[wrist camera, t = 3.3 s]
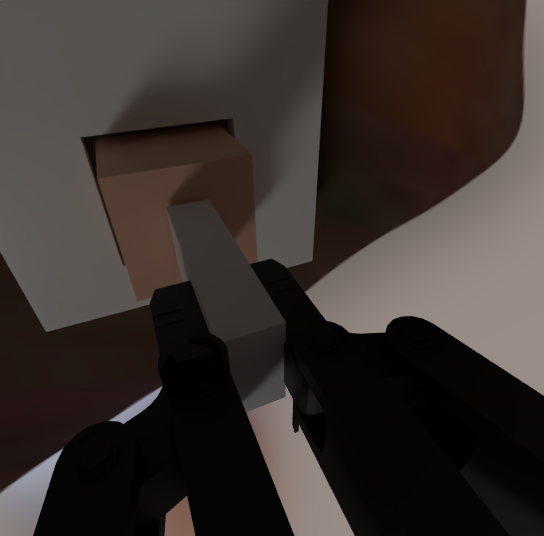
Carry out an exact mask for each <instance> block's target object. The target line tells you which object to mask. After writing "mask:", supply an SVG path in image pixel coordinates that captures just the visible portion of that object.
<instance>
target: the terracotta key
mask: <svg viewBox="0 0 544 536" xmlns="http://www.w3.org/2000/svg"><path fill="white" fill-rule="evenodd" d="M95 149H96V166H97V180H98V183H99V186H100V189H101V192H102V195H103V198H104V201H105V204H106V207H107V210H108V213H109V216H110V219H111V223H112V226H113V229H114V232H115V235H116V238H117V241H118V244H119V247H120V250H121V253H122V256H123V259H124V262H125V265H126V268H127V271H128V274H129V277H130V281H131V284H132V287H133V290H134V293H135V296H136V299H137V301H141V300H145V299H148V298H152V296H153V293H154V290H155V289H158V288H162V287H166V286H170V285H174V284H178V283H182V282H183V279H182V277H181V274H180V270H179V266H178V261H177V257H176V252H175V247H174V243H173V238H172V234H171V229H170V224H169V220H168V215H167V211H166V207H169V206H174V205H180V204H185V203H190V202H195V201H201V200H206V199H209V200H210V202H211V203H212V205H213V206H214V208H215V210H216V211H217V213H218V214H219V216H220V218H221V219H222V221H223V222H224V224H225V226H226V227H227V229H228V230H229V232H230V234H231V235H232V237H233V238H234V240H235V242H236V243H237V245H238V246H239V248H240V250H241V251H242V253H243V255H244V256H245V258H246V259H247V261H248V263H249V264H252V263H256V262H258V260H257V241H256V222H255V203H254V184H253V165H252V154H251V153H250V152H249V151H248V150H247V149H246V148H245V147H243V146H242V145H241V144H240V143H239V142H238V141H237V140H236V139H235V138H234V137H232V136H231V135H230V134H229V133H228V132H227V131H226V130H225V129H224V128H223V127H222V126H220V125H219V124H218V123H212V124H204V125H196V126H188V127H180V128H172V129H165V130H157V131H149V132H141V133H133V134H125V135H117V136H110V137H102V138H95Z"/></svg>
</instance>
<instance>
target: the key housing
mask: <svg viewBox="0 0 544 536" xmlns="http://www.w3.org/2000/svg"><path fill="white" fill-rule="evenodd" d="M327 10H328V0H0V252H1V254H2V255H3V257H4V259H5V261H6V262H7V264H8V266H9V268H10V269H11V271H12V273H13V275H14V276H15V278H16V280H17V282H18V283H19V285H20V287H21V289H22V290H23V292H24V294H25V296H26V297H27V299H28V301H29V303H30V304H31V306H32V308H33V310H34V311H35V313H36V315H37V317H38V318H39V320H40V322H41V324H42V325H43V327H44V329H45V331H46V332H48V331H51V330H55V329H59V328H63V327H66V326H70V325H74V324H78V323H81V322H85V321H89V320H93V319H96V318H100V317H104V316H108V315H111V314H115V313H119V312H122V311H126V310H130V309H134V308H137V307H141V306H145V305H149V304H150V301H151V298H148V299H145V300H141V301H137V299H136V296H135V293H134V290H133V287H132V284H131V281H130V277H129V274H128V271H127V268H126V265H125V262H124V259H123V256H122V253H121V250H120V247H119V244H118V241H117V238H116V235H115V232H114V229H113V226H112V223H111V219H110V216H109V213H108V210H107V207H106V204H105V201H104V198H103V195H102V192H101V189H100V186H99V183H98V180H97V166H96V149H95V138H102V137H110V136H117V135H125V134H133V133H141V132H149V131H157V130H165V129H172V128H180V127H188V126H196V125H204V124H212V123H218V124H219V125H220V126H222V127H223V128H224V129H225V130H226V131H227V132H228V133H229V134H230V135H231V136H232V137H234V138H235V139H236V140H237V141H238V142H239V143H240V144H241V145H242V146H243V147H245V148H246V149H247V150H248V151H249V152H250V153H251V154H252V165H253V184H254V203H255V222H256V241H257V260H258V262H260V261H264V260H268V259H274V260H275V261H277V262H279V263H281V264H282V265H284V266H285V267H286V268H287V267H291V266H295V265H299V264H302V263H306V262H310V261H312V257H313V241H314V225H315V208H316V192H317V175H318V159H319V142H320V126H321V109H322V93H323V76H324V60H325V43H326V27H327Z"/></svg>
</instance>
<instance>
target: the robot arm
mask: <svg viewBox="0 0 544 536" xmlns="http://www.w3.org/2000/svg"><path fill="white" fill-rule="evenodd" d="M166 211H167V215H168V220H169V224H170V229H171V234H172V238H173V243H174V247H175V252H176V257H177V261H178V266H179V270H180V274H181V277H182V279H183V282H182V283H178V284H174V285H170V286H166V287H162V288H158V289H155V290H154V293H153V296H152V298H151V301H150V307H151V312H152V317H153V322H154V327H155V332H156V336H157V341H158V346H159V351H160V357H159V362H158V371H159V374H160V377H161V380H162V383H163V386H162V389H161V391H160V393H159V395H158V396H157V398H156V399H155V400H154V401H153V402H152V404H151V405H149V406H148V407H147V408H146V409H145V410H143V411H142V412H141V413H139V414H138V415H136V416H135V417H133V418H132V419H130V420H129V421H127V422H126V423H125V424H122V423H120V422H118V421H104V422H101V423H97V424H94V425H91V426H89V427H87V428H86V429H84V430H83V431H81V432H80V433H78V434H77V435H75V436H74V437H73V439H72V440H71V441H70V442H69V443H68V444H67V445H66V446H65V447H64V449H63V451H62V453H61V454H60V457H59V459H58V461H57V462H56V465H55V468H54V471H53V474H52V478H51V481H50V484H49V487H48V490H47V493H46V497H45V500H44V503H43V506H42V509H41V512H40V516H39V519H38V522H37V525H36V528H35V531H34V534H33V536H164V533H165V518H166V513H167V512H169V511H170V510H171V509H172V508H173V507H174V506H176V505H177V504H178V503H179V502H180V501H181V500H182V499H184V498H185V497H186V496H187V497H188V502H189V506H190V512H191V516H192V521H193V526H194V531H195V536H294V534H293V531H292V528H291V526H290V523H289V521H288V518H287V516H286V513H285V511H284V508H283V506H282V503H281V500H280V498H279V496H278V493H277V490H276V488H275V485H274V482H273V480H272V477H271V475H270V472H269V470H268V467H267V465H266V462H265V459H264V457H263V454H262V452H261V449H260V447H259V444H258V442H257V439H256V436H255V434H254V431H253V429H252V426H251V424H250V421H249V419H248V416H247V413H246V412H247V411H250V410H253V409H255V408H258V407H260V406H263V405H266V404H268V403H271V402H273V401H276V400H279V399H281V398H283V397H285V385H286V387H287V388H288V391H289V392H290V394H291V396H292V398H293V424H292V425H293V429H294V432H295V433H296V432H298V431H299V425H300V427H301V429H302V431H303V433H304V435H305V437H306V439H307V441H308V443H309V445H310V447H311V449H312V451H313V453H314V455H315V457H316V459H317V461H318V463H319V465H320V467H321V469H322V471H323V473H324V475H325V477H326V479H327V481H328V483H329V485H330V487H331V489H332V491H333V493H334V495H335V497H336V499H337V501H338V503H339V505H340V507H341V509H342V511H343V513H344V515H345V517H346V519H347V521H348V523H349V525H350V527H351V529H352V531H353V533H354V535H355V536H544V396H543V395H542V394H540V393H539V392H537V391H536V390H534V389H533V388H531V387H530V386H528V385H526V384H525V383H523V382H522V381H520V380H519V379H517V378H516V377H514V376H512V375H511V374H510V373H508V372H507V371H505V370H503V369H502V368H500V367H499V366H497V365H496V364H494V363H493V362H491V361H489V360H488V359H487V358H485V357H483V356H482V355H480V354H479V353H477V352H476V351H474V350H473V349H471V348H469V347H468V346H467V345H465V344H463V343H462V342H460V341H459V340H457V339H456V338H454V337H453V336H451V335H450V334H448V333H447V332H445V331H444V330H442V329H440V328H439V327H438V326H436V325H434V324H433V323H431V322H429V321H427V320H424V319H422V318H418V317H413V316H403V317H399V318H396V319H394V320H392V321H391V322H390V323H389V325H387V328H386V332H385V333H366V334H356V333H349V332H348V331H347V330H346V329H344V328H343V327H342V326H340V325H338V324H336V323H333V322H330V321H326V320H325V319H324V317H323V316H322V315H321V314H320V312H319V311H318V309H317V308H316V307H315V305H314V304H313V303H312V301H311V300H310V299H309V297H308V296H307V295H306V293H305V292H304V291H303V289H302V288H301V287H299V284H298V283H297V281H296V280H295V279H293V276H292V275H291V273H290V272H289V271H288V269H287V268H286V267H285V266H284V265H282V264H281V263H279V262H277V261H275V260H274V259H268V260H264V261H260V262H256V263H252V264H249V263H248V261H247V259H246V258H245V256H244V255H243V253H242V251H241V250H240V248H239V246H238V245H237V243H236V242H235V240H234V238H233V237H232V235H231V234H230V232H229V230H228V229H227V227H226V226H225V224H224V222H223V221H222V219H221V218H220V216H219V214H218V213H217V211H216V210H215V208H214V206H213V205H212V203H211V202H210V200H209V199H206V200H201V201H195V202H190V203H185V204H180V205H174V206H169V207H166Z"/></svg>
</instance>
